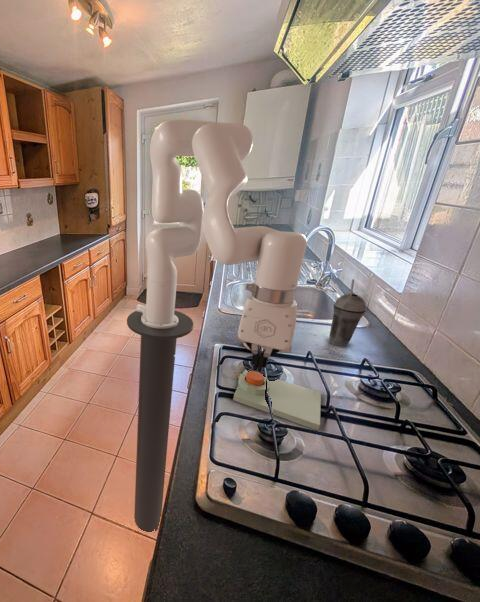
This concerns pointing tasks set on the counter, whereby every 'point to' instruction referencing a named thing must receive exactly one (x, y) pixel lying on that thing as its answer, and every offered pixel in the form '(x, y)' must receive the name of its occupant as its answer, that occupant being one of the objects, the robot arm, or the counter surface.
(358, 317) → the beverage cup
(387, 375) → the counter surface
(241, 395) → the scale
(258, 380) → the button
